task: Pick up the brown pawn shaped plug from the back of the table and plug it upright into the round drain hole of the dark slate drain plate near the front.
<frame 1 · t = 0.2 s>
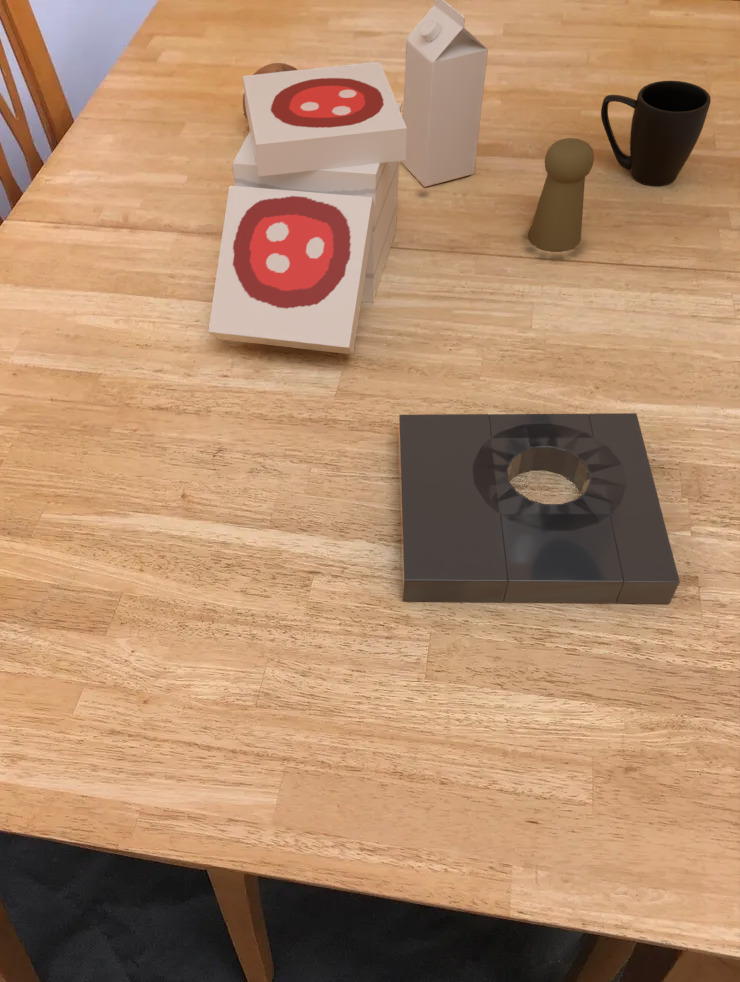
onion: (280, 136, 127), on the table
drain plate: (522, 514, 83), on the table
mug: (637, 173, 117), on the table
pizza boxes: (314, 287, 106), on the table
brown pawn shaped plug: (554, 238, 109), on the table
milk carton: (437, 170, 120), on the table
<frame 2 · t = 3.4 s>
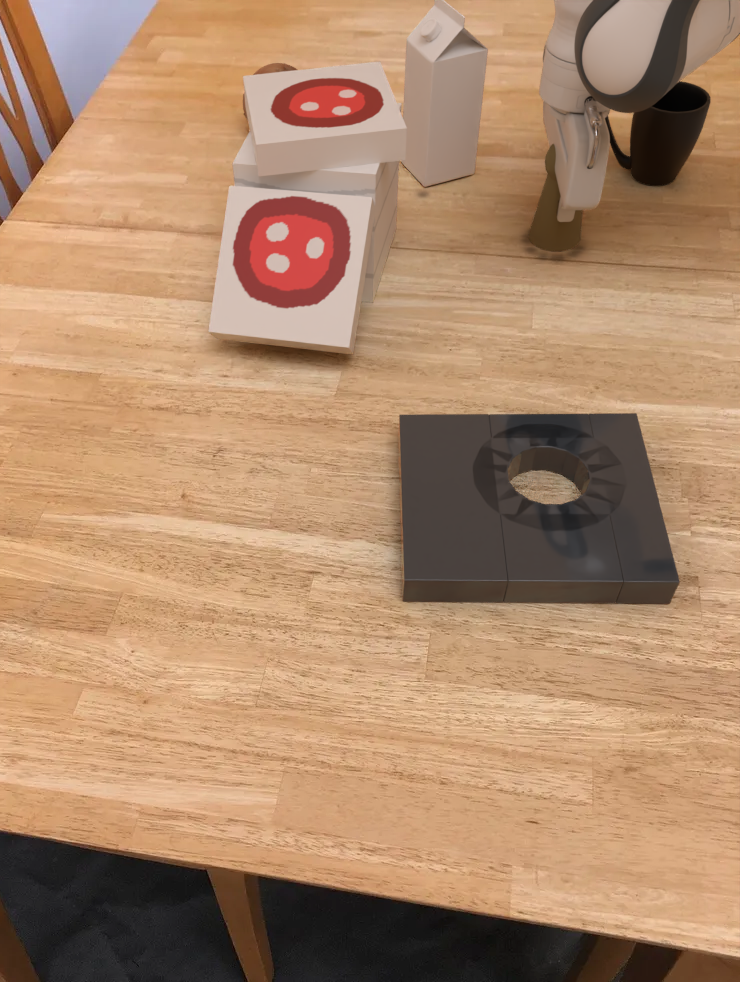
hand: (560, 203, 106), 4 cm above the table, tool pointing down, fingers closed on brown pawn shaped plug, 4 cm apart
brown pawn shaped plug: (554, 238, 109), on the table, touching gripper
everything else where it was.
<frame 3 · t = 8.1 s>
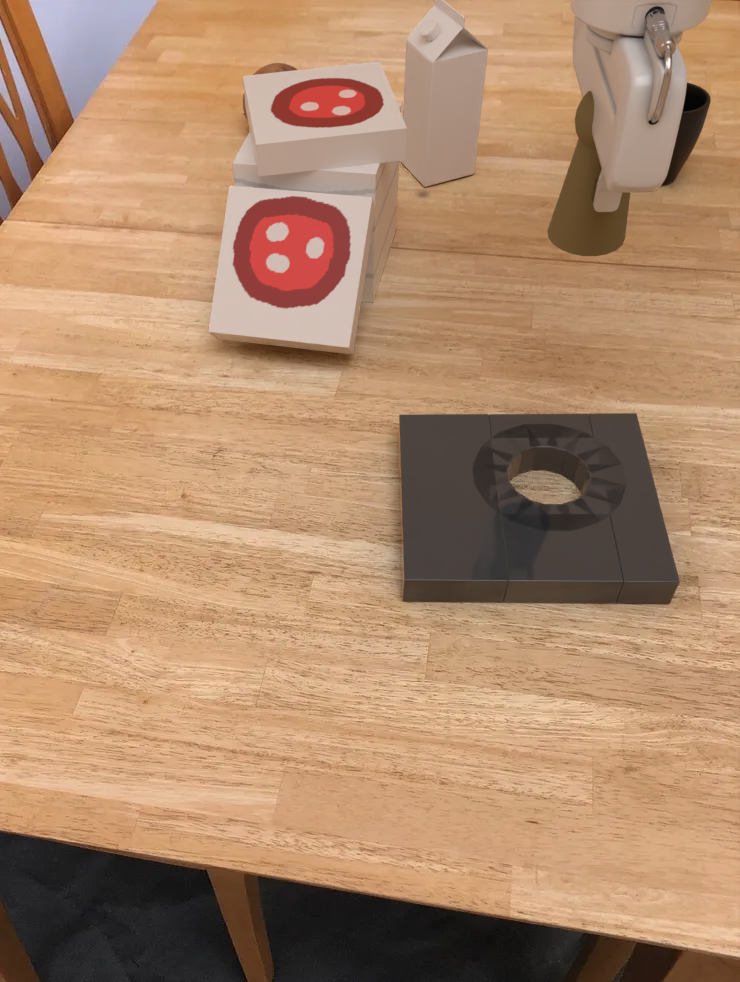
hand: (598, 185, 71), 24 cm above the table, tool pointing down, fingers closed on brown pawn shaped plug, 4 cm apart
brown pawn shaped plug: (585, 237, 74), point 20 cm above the table, touching gripper
everything else where it was.
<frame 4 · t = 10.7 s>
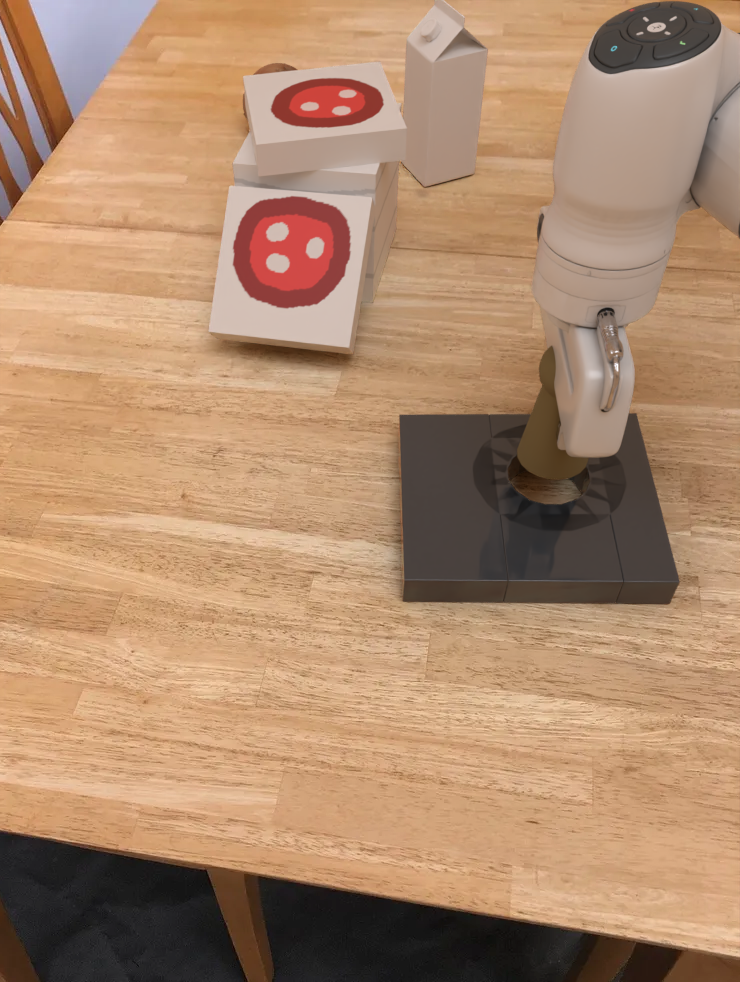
hand: (562, 418, 77), 10 cm above the table, tool pointing down, fingers closed on brown pawn shaped plug, 4 cm apart
brown pawn shaped plug: (552, 456, 80), point 5 cm above the table, touching gripper
everything else where it was.
when the fingers open (4 cm above the table, at t = 12.7 s): brown pawn shaped plug stays where it is, resting in drain plate.
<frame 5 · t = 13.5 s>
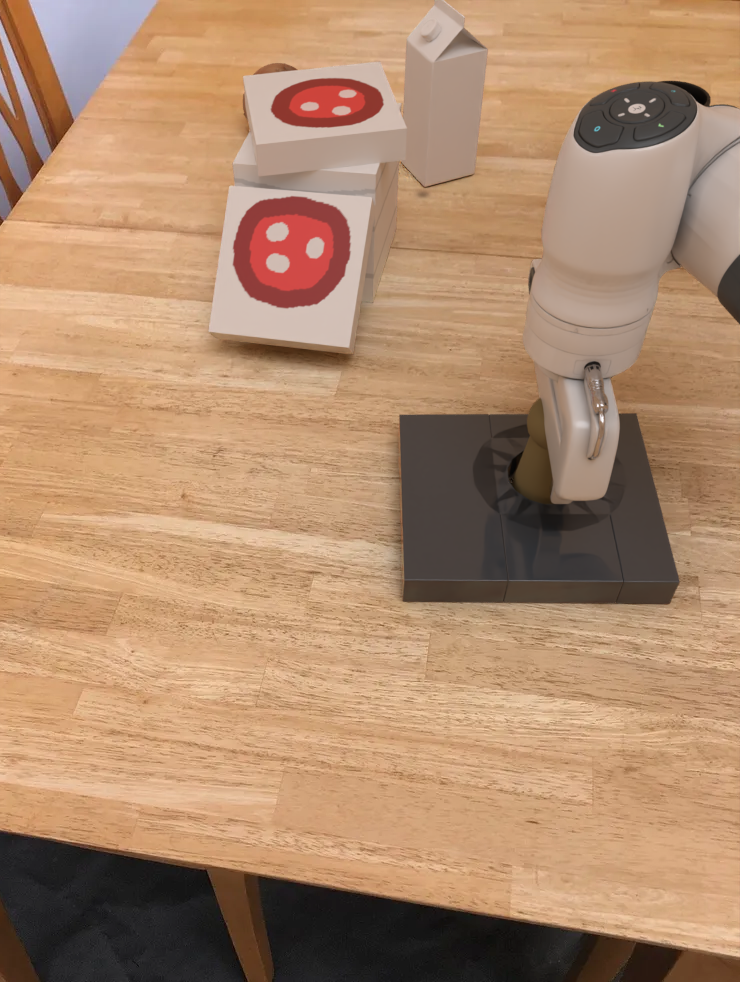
hand: (553, 457, 80), 5 cm above the table, tool pointing down, fingers open, 8 cm apart
brown pawn shaped plug: (540, 499, 84), resting in drain plate
everything else where it was.
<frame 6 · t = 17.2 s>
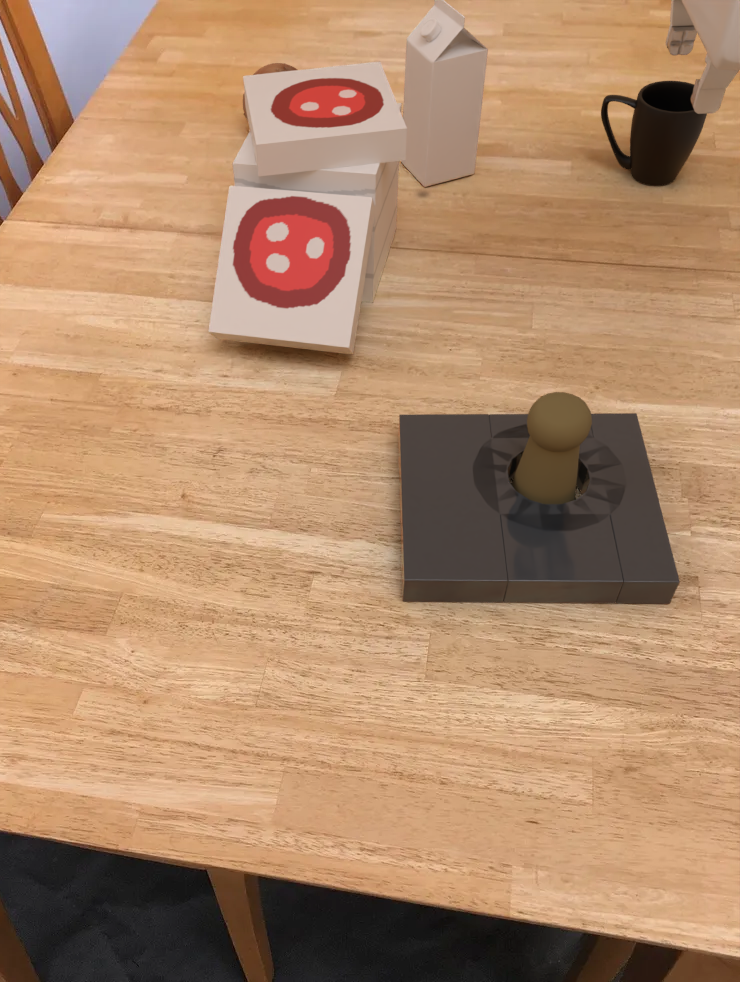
hand: (689, 79, 70), 29 cm above the table, tool pointing down, fingers open, 8 cm apart
nothing on the table moved.
at the end: brown pawn shaped plug 0.2 cm from the target spot in the drain plate, point 0.0 cm above the drain plate's base; brown pawn shaped plug tilted 0°; the gripper is holding nothing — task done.
